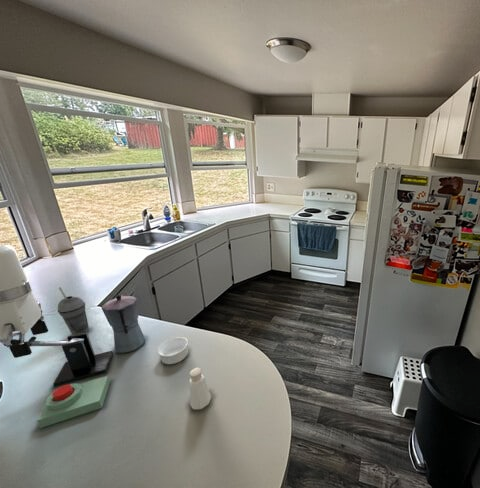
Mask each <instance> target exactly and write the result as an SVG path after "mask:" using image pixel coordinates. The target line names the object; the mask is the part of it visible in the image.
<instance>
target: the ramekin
mask: <svg viewBox="0 0 480 488" xmlns="http://www.w3.org/2000/svg"><path fill="white" fill-rule="evenodd" d="M157 354H158V356H159V357H160V359H161V362H162V363H163V364H165V365H174V364H175V365H176V364H177V363H179V362H182V361H183V360H184V359H185V358H186V357H187V356H188V354H189V340H188V339H187V338H186V337H184V336H176V337H172V338H170V339H167V340H166V341H164V342H162V344H160V345H159V346H158V349H157Z"/></svg>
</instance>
